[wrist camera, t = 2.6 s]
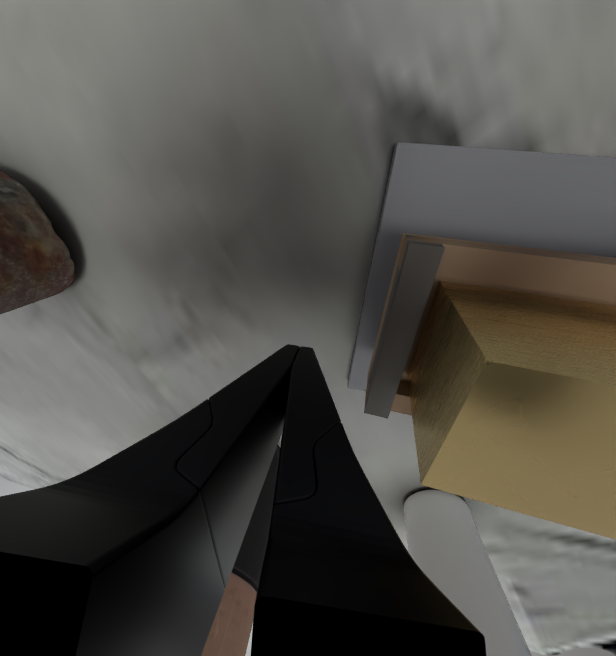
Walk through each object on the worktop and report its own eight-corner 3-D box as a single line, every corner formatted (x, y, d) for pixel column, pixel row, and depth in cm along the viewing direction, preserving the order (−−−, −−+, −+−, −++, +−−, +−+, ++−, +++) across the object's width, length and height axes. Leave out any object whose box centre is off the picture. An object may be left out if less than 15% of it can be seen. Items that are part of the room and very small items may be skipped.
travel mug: (227, 479, 26) (-17, 1059, 9) (193, 427, 23) (-314, 1209, 5) (298, 479, 24) (165, 1219, 7) (273, 422, 21) (-114, 1608, 4)
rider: (637, 309, 8) (907, 441, 4) (559, 406, 10) (680, 557, 6) (439, 280, 9) (486, 361, 5) (407, 374, 12) (420, 484, 7)
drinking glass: (383, 486, 23) (422, 887, 10) (466, 475, 20) (663, 984, 7) (407, 526, 25) (464, 885, 12) (484, 520, 23) (653, 957, 10)
